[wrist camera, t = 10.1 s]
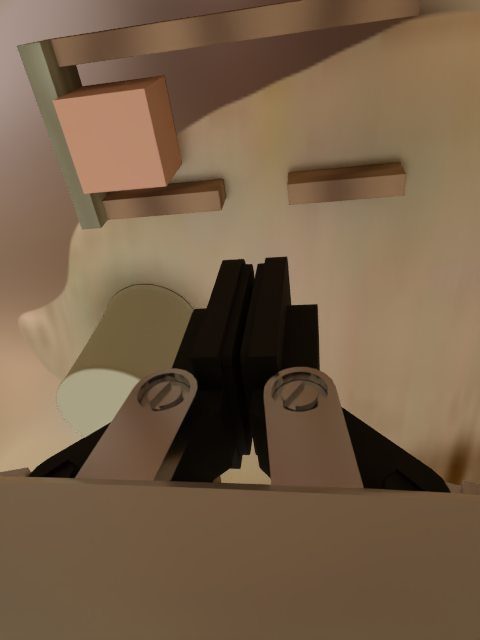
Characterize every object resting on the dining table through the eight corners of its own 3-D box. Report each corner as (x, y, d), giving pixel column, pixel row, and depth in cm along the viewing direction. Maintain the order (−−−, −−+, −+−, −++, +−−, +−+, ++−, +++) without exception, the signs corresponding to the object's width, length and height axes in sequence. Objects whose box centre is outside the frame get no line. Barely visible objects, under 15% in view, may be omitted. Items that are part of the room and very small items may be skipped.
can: (122, 361, 48) (76, 456, 38) (94, 286, 42) (32, 374, 33) (207, 359, 46) (182, 457, 36) (190, 281, 41) (155, 372, 31)
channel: (412, -18, 27) (427, -19, 24) (398, 182, 34) (408, 203, 30) (46, 39, 31) (16, 45, 27) (101, 208, 38) (82, 229, 34)
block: (164, 75, 31) (144, 88, 27) (182, 163, 35) (166, 186, 31) (83, 86, 32) (52, 100, 28) (108, 170, 36) (83, 193, 32)
